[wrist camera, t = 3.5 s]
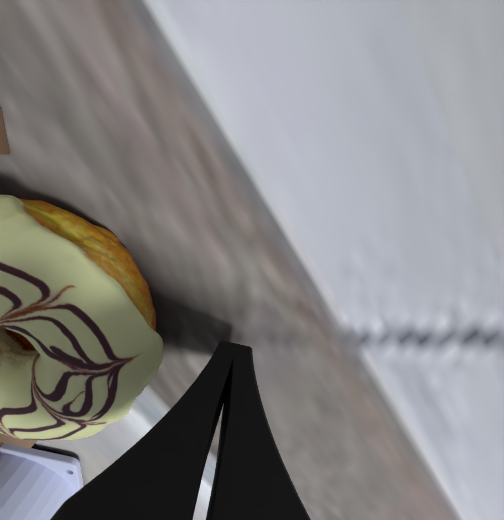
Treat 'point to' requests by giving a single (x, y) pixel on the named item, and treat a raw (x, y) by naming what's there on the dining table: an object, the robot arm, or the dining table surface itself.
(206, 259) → the dining table surface
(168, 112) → the dining table surface
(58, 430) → the decorated donut
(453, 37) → the dining table surface
